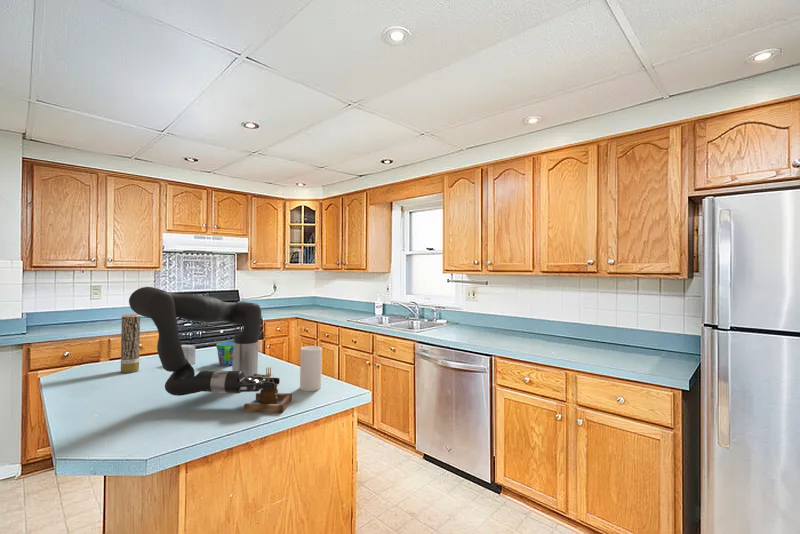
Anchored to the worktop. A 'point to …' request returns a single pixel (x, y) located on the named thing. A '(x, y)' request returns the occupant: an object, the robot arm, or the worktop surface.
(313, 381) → the cup
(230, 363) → the snack cup
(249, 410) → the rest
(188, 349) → the medicine box
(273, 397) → the utensil holder
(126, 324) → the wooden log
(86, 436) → the worktop surface
